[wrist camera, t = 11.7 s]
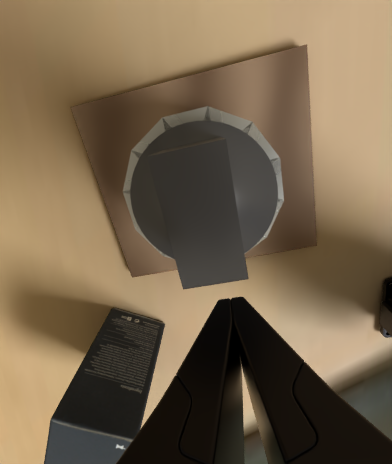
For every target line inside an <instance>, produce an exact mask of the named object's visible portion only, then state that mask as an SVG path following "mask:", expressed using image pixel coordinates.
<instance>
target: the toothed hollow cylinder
mask: <svg viewBox="0 0 392 464" xmlns="http://www.w3.org/2000/svg"><path fill="white" fill-rule="evenodd" d="M193 121H216V122H221V123H225V124H229V125H231V126H233V127H236V128H238V129H240V130H242V131H243V132H245V133H246V134H248V135H249V136H250V137H252V138H253V139H254V140H255V141H256V142H257V143H258V144H259V145H260V146H261V147H262V148H263V150H264V151H265V153H266V154H267V156H268V157H269V159H270V161H271V163H272V165H273V168H274V171H275V174H276V179H277V185H278V200H277V207H276V211H275V215H274V217H273V220H272V223H271V224H270V226H269V228H268V230H267V232H266V233H265V234H264V236H263V237H262V238H261V240H260V241H259V242H258V243H257V244H259V243H260V242H261V241H263V240H264V239H265V238H267V236H268V234H269V232H270V230H271V227H272V225H273V223H274V221H275V219H276V217H277V215H278V212H279V210H280V208H281V206H282V204H283V202H284V195H283V184H282V174H281V163H280V157H279V156H278V155H277V153H276V152H275V151H274V149H273V148H272V147H271V145H270V144H269V143H268V141H267V140H266V139H265V138H264V136H263V135H262V134H261V132H260V131H259V130H258V128H257V127H256V126H255V125H254V123H253V122H252V121H249V120H246V119H243V118H240V117H238V116H235V115H232V114H229V113H226V112H223V111H220V110H218V109H215V108H212V107H209V106H206V107H202V108H198V109H194V110H190V111H186V112H182V113H178V114H174V115H170V116H166V117H162V118H161V119H160V120H159V121H158V123H157V124H156V125H155V126H154V127H153V128H152V129H151V130H150V131H149V132H148V133H147V134H146V135H145V136H144V137H143V138H142V140H141V141H140V142H139V143H138V144H137V145H136V146H135V147H134V148H133V149H132V150H131V154H130V159H129V164H128V169H127V174H126V179H125V183H124V188H123V194H124V197H125V200H126V203H127V206H128V209H129V212H130V215H131V218H132V221H133V224H134V227H135V230H136V231H137V232H138V233H139V234H140V235H141V236H142V237H143V238H145V239H146V240H147V241H148V242H149V240H148V239H147V238H146V237H145V236H144V234H143V233H142V231H141V230H140V228H139V226H138V224H137V222H136V220H135V217H134V214H133V210H132V206H131V198H130V187H131V180H132V176H133V172H134V169H135V166H136V164H137V162H138V160H139V158H140V156H141V155H142V153H143V152H144V150H145V149H146V148H147V147H148V145H149V144H150V143H151V142H152V141H153V140H154V139H156V138H157V137H158V136H159V135H161V134H162V133H164V132H165V131H167V130H169V129H171V128H173V127H175V126H177V125H180V124H183V123H187V122H193ZM149 243H150V242H149ZM150 244H151V243H150ZM257 244H256V245H257ZM151 245H152V244H151ZM256 245H255V246H256ZM152 246H153V245H152ZM255 246H254V247H255ZM153 247H154V246H153ZM154 248H155V249H156V250H157V251H158V252H159V253H160V254H161V255H162V256H165V257H168V258H171V257H169V256H167V255H165V254H164V253H162V252H161V251H159V250H158V249H157V248H156V247H154ZM252 248H253V247H252ZM252 248H251V249H252ZM247 252H248V251H247ZM244 254H245V253H244ZM171 259H173V258H171Z"/></svg>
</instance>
